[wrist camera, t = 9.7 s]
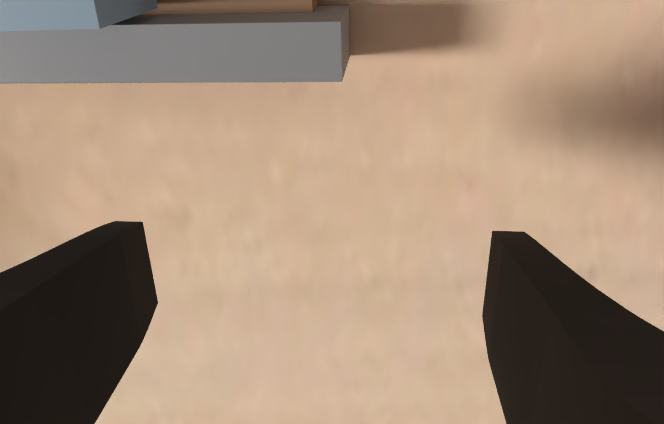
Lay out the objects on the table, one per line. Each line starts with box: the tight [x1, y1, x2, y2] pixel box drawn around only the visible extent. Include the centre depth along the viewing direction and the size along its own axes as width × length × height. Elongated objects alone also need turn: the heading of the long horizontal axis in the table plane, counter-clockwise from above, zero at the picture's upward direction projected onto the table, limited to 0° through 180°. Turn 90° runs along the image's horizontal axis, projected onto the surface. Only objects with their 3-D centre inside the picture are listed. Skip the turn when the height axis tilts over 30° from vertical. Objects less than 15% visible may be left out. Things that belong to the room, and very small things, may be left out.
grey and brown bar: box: [0, 0, 350, 84], centre depth 18 cm, size 20×3×4 cm, turn 92°
